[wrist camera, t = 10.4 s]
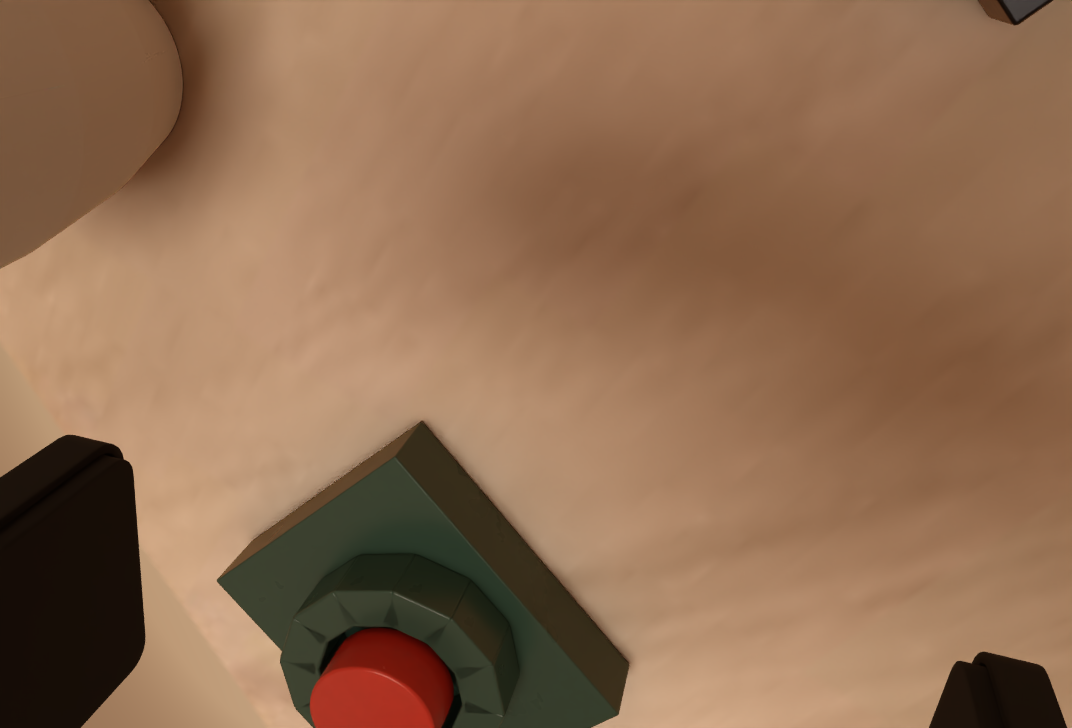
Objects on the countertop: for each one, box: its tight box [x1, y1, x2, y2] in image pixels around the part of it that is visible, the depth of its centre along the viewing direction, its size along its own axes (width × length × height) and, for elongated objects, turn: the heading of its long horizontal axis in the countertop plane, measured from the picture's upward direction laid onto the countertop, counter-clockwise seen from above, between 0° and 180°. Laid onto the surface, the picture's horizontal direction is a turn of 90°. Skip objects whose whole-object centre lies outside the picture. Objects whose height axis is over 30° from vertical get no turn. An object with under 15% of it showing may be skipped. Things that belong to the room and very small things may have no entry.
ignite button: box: [310, 627, 454, 728], centre depth 26 cm, size 4×4×2 cm
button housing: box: [217, 422, 629, 728], centre depth 29 cm, size 10×8×4 cm
